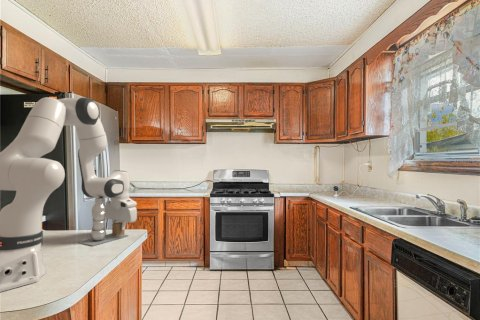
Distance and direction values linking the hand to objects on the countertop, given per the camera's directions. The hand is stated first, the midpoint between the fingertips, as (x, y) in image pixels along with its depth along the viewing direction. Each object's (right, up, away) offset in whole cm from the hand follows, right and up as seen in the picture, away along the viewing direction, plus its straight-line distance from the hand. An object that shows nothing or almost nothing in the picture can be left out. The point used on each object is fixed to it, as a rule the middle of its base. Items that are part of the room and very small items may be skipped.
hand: (119, 228), depth 143 cm
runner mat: (-4, -3, -8) cm, 9 cm away
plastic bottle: (-5, -3, -11) cm, 13 cm away
